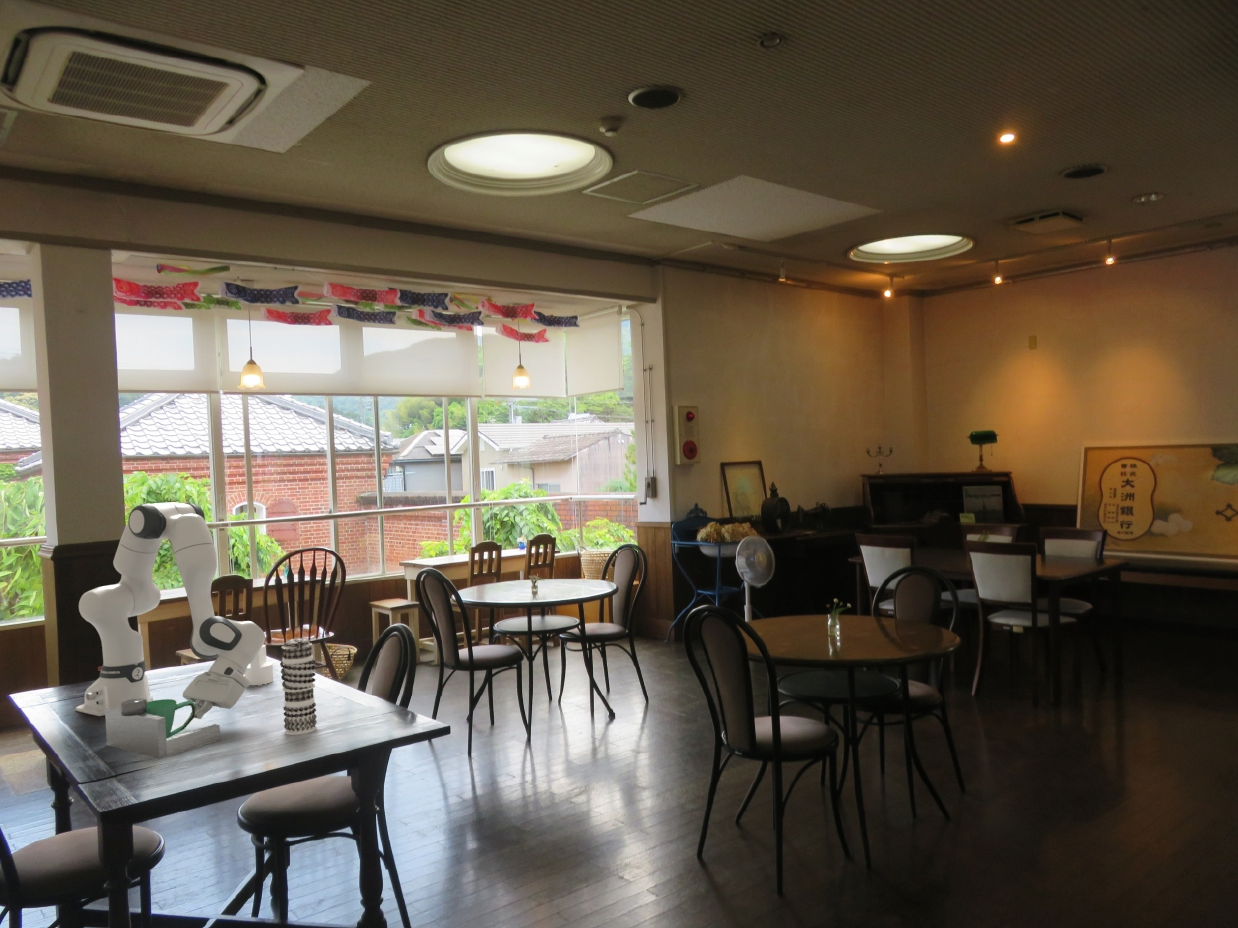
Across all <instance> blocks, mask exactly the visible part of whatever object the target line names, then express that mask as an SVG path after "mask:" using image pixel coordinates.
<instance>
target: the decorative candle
mask: <svg viewBox="0 0 1238 928" xmlns="http://www.w3.org/2000/svg"><path fill="white" fill-rule="evenodd" d="M312 645H313V643H312V642H310V641H309V639H307V638H304V637H303V638H300V637H299V638H292V639H289V640H287V641H285V643H284V645H282V646H281V649H282V660H281V661H280V663H279V666H280V668H281V670H280V673H281V680H282V683H281V686H282V691H283V692H284V703H283V704H284V706H283V711H284V712H283V716H284V719H283V722H284V725H283V729H284V734H286V735H290V736H292V735H293V736H299V735H305V734H309V733H312V732H314V731H316V730H317V723H318V722H317V714H315V713H316V712H317V709H316V708H315V707H316V706H317V704H316V702H315V696H314V688H315V687H316V685H315V683H314V682H315V681H316V678H314V676H316V672H315V673H314V671H313V670H314V669H316V666H315V665H314V664H315V663H316V660H315V659H314V656H313V653H312V652H313V651H312Z"/></svg>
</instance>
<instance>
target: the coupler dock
mask: <svg viewBox="0 0 1238 928" xmlns="http://www.w3.org/2000/svg"><path fill="white" fill-rule="evenodd" d="M146 712H147V699H144V698H139V699H131V700H127V701H124V702H122V703H121V708H117V707H109V708H105V715H104V716H105V732H106V735H105V736H106V746H107V745H108V746H107V747H112V748H115V749H120V750H123V751H127V752H131V753H136V754H139V755H143V756H146V757H151V758H155V759H158V760H160V759H163V758H166V757H170V756H173V755H176V754H180V753H182V752H186V751H188V750H192V749H195V748H198V746H199V747H202V746H205V745H208V744H211V742H212V743H214V741H215V742H217V740H218V741H220V740H221V727H220V724H216V723H214V724H211V725H207V726H205V727H204V726H203V727H200V728H197V729H193V730H191V731H188V732H183V733H180V734H176V735H173V736H171V737H170V738H167V739H166V724H165V717H160V716H155V715H150V714H146ZM207 743H208V744H207ZM201 745H202V746H201Z"/></svg>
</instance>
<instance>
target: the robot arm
mask: <svg viewBox="0 0 1238 928" xmlns="http://www.w3.org/2000/svg"><path fill="white" fill-rule="evenodd" d="M162 540H170V542H171V545H172V550H173V555H174V560H175V562H176V566H177V569H178V572H179V576H180V577H181V581H182V584H183V586H184V590H185V593H186V597H187V603H188V607H189V612H190V613H189V614H190V617H191V623H192V631H191V635H190V639H189V646H190V647H189V648H190V650H191V652H192V653H193V654H194V655H195V656H196V657H197V658H200V659H202V660H213V659H215V661H214V662H213V663H212V665H211V666H210V667H209V669H208V671H204V672H203V673H200V674H199V675H198V674H197V676H195V678H193V679H192V681H191V682H190V683H189V684H188V685H187V686H186V688H185V689H184V691H183V692H182V697H183V699H185V700H186V701H192V702H193V703H194V704H196V711H195V717H194V719H197V720H201V719H202V718H203V717H204V715H206V714H207V713H208V712H209V711H211V710H212V709H213V707H217V708H220V709H221V708H223V709H226V710H227V709H228V710H230V709H232V708H233V707H234V706H235V705H236V704H237V702H238V701H239V700H240V698H241V697H242V695H243V694H244V691H245V689H246V688H248V687H249V686H248V685H249V684H250V681H249V680H248V679H247V678H245V672H246V669H247V667H248V665H249V664H250V663H251V662H252V661H253V660H254V659H255V657H256V656H257V654H258V653H259V651H260V649H261V648H262V646H263V645H265V642H266V634H265V632H264V630H263V629H262V628H261V626H259V625H258V624H257V623H255V622H254V621H252V620H251V621H250V620H246V621H238V620H233V619H229V618H226V617H225V616H220V615H215V612H214V605H213V601H212V594H211V593H212V592H211V591H212V583H213V580H214V577H215V575H216V571H217V567H218V561H217V559H218V558H217V551H216V548H215V543H214V539H213V537H212V534H211V531H210V528H209V526H208V525H207V521H206V517H205V513H204V510H203V509H202V508H201V507H200V506H199V505H197V504H194V503H189V502H184V503H183V502H175V501H174V502H173V501H172V502H170V501H167V502H157V503H142V504H139V505H136V506H135V507H133V509H132V510H131V511H130V514H129V516H128V520H127V523H126V526H125V528H124V530H123V532H122V535H121V537H120V540H119V543H118V546H117V549H116V551H115V555H114V558H113V561H112V562H113V567H114V568H115V570H116V571H117V572H118V573H119V574H120V575H121V576H120V577H121V578H120V581H119V582H118V583H115V584H108V585H103V586H98V587H95V588H93V589H90V590H88V591H86V592H84V593H83V594H82V595H81V597H80V599H79V602H78V611H79V613H80V616H81V617H82V619H84V620H85V621H86V622H88V623H90V624H91V625H92V626H93V627H94V628H95V629H96V631H97V633H98V635H99V638H100V641H101V647H102V648H101V649H102V650H101V651H102V661H103V664H102V666H99V667H98V666H97V669H98V670H97V671H100V672H99V677H98V678H97V679H96V680H95V681H94V682H93V683H92V684H91V685H89V687H88V688H86V690H85V692H84V703H82V704H79V705H78V706H76V707H75V711H76V712H80V713H84V714H88V715H91V716H92V715H93V716H97V717H101V716H103V717H104V716H105V708H109V707H117V708H121V703H122V702H124V701H127V700H131V699H139V698H144V699H147V702H149V701H154V697H153V696H151V693H150V691H151V690H150V683H149V679H148V676H147V674H146V671H147V668H146V667H147V663H146V659H144V657H145V656H144V640H143V639H144V638H143V635H142V634H141V633H140V632H138V631H137V630H134V629H132V627H131V626H130V623H129V618H131V617H132V618H133V617H137V616H139V615H140V616H141V615H143V614H146V613H148V612H151V611H152V610H154V609H156V608H157V607H158V606H159V604H160V601H161V596H162V595H161V590H160V588H159V586H158V585H157V584H156V583H155V582H154V581H153V570H154V566H155V562H156V559H157V556H158V553H159V550H160V546H161V543H162ZM191 713H192V711H191V712H190V714H189V716H190V715H191Z"/></svg>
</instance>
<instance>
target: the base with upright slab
mask: <svg viewBox="0 0 1238 928" xmlns="http://www.w3.org/2000/svg"><path fill="white" fill-rule="evenodd" d="M273 666H274V665H273V662H270V661H267V645H266V644H263V646H262V648H261V649H260V651H259V653H258V654H257V656H256V657H255V659H254V660H253V661H252V662H251V663H250V664H249V665H248V667H247V669H246V672H245V673H244V677H245V678H247V679H248V680H249V681H250V684H249V685H258V686H263V685H262V684H265V685H268V684H267V683H269V684H271V683H272V681H273V682H274V667H273ZM270 682H271V683H270Z"/></svg>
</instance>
